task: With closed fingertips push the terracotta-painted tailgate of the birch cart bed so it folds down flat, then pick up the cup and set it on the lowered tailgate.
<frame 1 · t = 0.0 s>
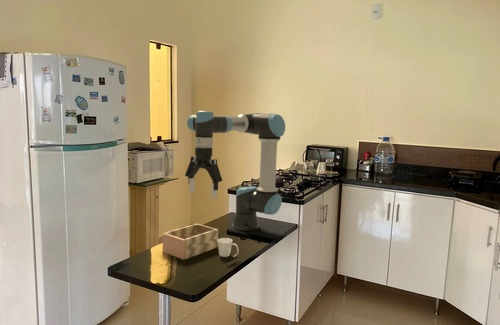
hand: (202, 195, 170), 28 cm above the table, fingers open, 13 cm apart
tailgate: (173, 246, 169), point 5 cm above the table, hinge at 0.0°
cup: (227, 258, 172), on the table
cart bed: (191, 251, 178), on the table
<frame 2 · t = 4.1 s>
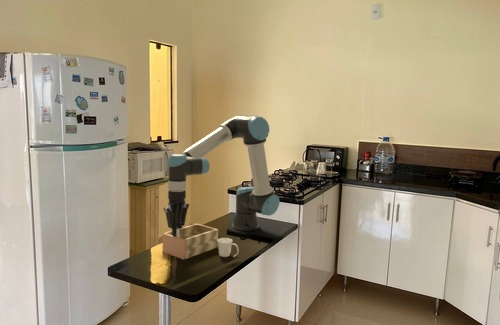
hand: (176, 242, 170), 7 cm above the table, fingers closed
tailgate: (173, 246, 169), point 5 cm above the table, hinge at 0.0°, touching gripper
everything else where it was.
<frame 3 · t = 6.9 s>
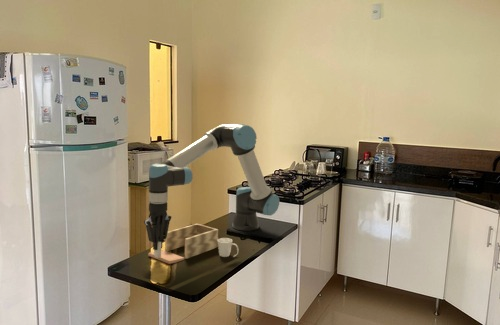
hand: (157, 256, 162), 3 cm above the table, fingers closed
tailgate: (166, 256, 166), point 2 cm above the table, hinge at 83.0°, touching gripper
everything else where it was.
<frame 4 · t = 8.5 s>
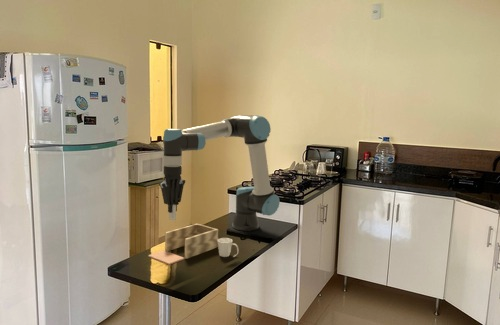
hand: (172, 219, 167), 18 cm above the table, fingers closed
tailgate: (166, 257, 166), point 1 cm above the table, hinge at 90.1°
everything else where it was.
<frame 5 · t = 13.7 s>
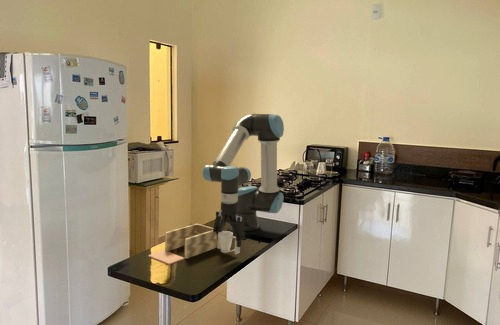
hand: (228, 250, 172), 3 cm above the table, fingers closed on cup, 9 cm apart
cup: (228, 251, 172), point 3 cm above the table, touching gripper
everything else where it was.
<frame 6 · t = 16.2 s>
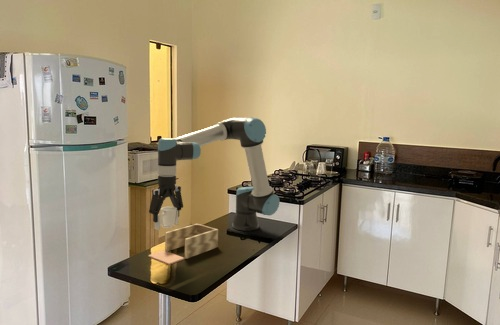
hand: (166, 226, 164), 15 cm above the table, fingers closed on cup, 9 cm apart
cup: (166, 228, 165), point 15 cm above the table, touching gripper
everything else where it was.
when the fingers open (3 cm above the table, at t = 18.8 s): cup moves 2 cm, resting on tailgate.
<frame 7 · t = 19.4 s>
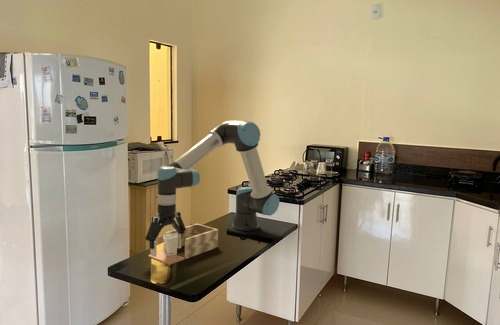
hand: (166, 251, 166), 4 cm above the table, fingers open, 13 cm apart
tailgate: (166, 257, 166), point 1 cm above the table, hinge at 90.2°, touching cup
cup: (170, 255, 168), point 2 cm above the table, touching gripper, tailgate
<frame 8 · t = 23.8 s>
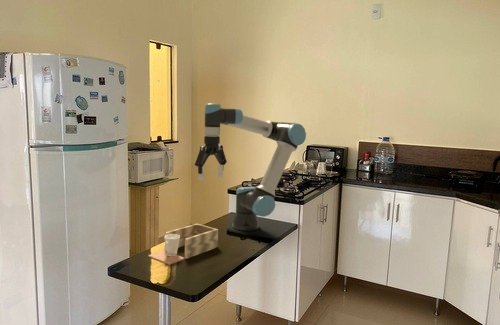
hand: (210, 179, 190), 32 cm above the table, fingers open, 13 cm apart
cup: (170, 255, 168), point 2 cm above the table, touching tailgate
everything else where it was.
at the end: tailgate at +90° (first picture: +0°); cup inside the target area (2.5 cm from its centre), point 1.6 cm above the table; cup tilted 0° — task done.
